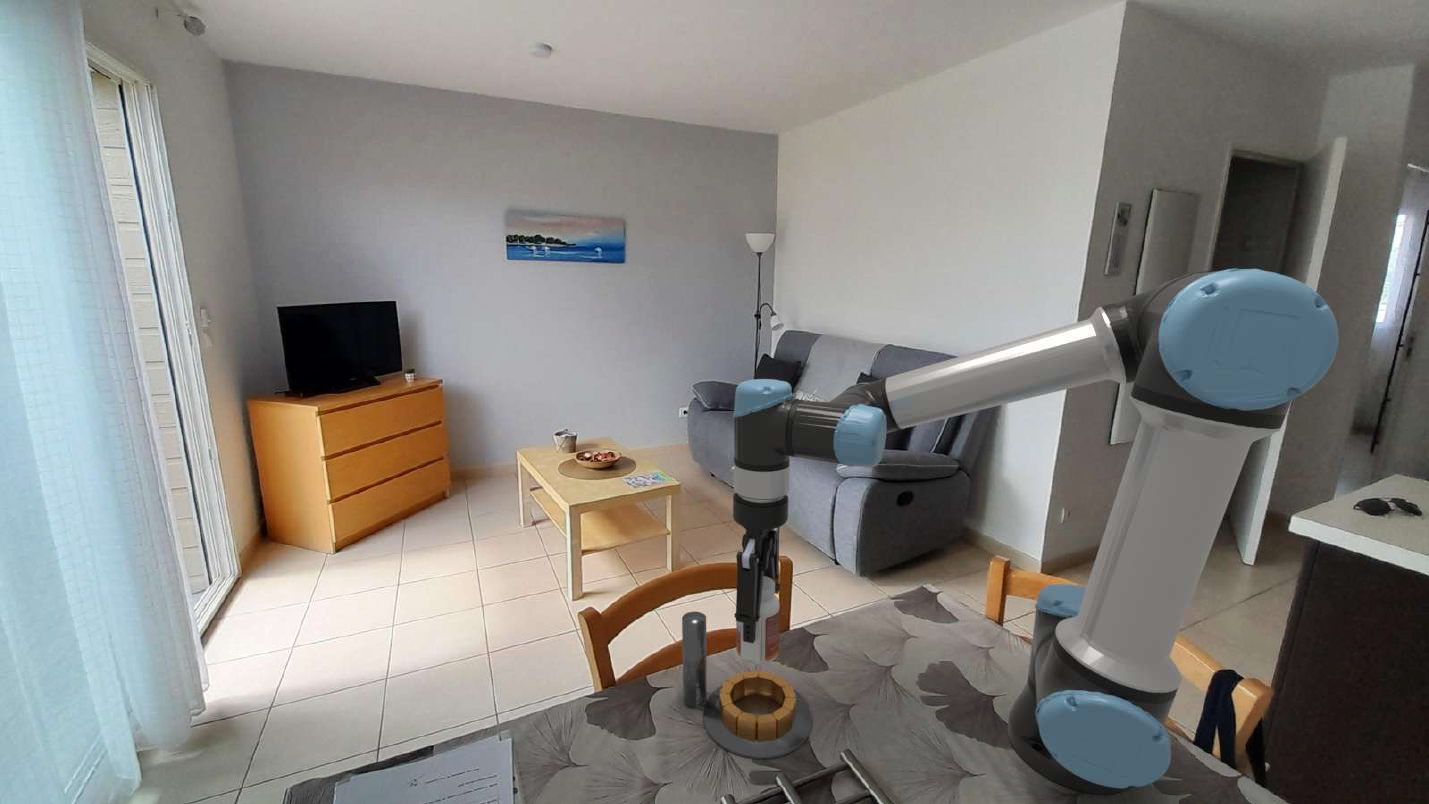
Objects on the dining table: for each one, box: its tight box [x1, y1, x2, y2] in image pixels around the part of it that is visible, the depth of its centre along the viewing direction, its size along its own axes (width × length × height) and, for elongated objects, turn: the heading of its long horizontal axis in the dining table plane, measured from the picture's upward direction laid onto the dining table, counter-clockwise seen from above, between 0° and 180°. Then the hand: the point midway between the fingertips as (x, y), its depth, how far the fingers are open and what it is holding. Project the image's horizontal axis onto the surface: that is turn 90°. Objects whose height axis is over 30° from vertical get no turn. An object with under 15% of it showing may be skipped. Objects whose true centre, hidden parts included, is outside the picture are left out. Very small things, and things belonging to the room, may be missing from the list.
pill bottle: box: [735, 576, 781, 666], centre depth 85 cm, size 6×6×11 cm
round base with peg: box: [681, 611, 813, 760], centre depth 87 cm, size 20×16×14 cm
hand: (757, 644), depth 85 cm, fingers closed on pill bottle, 6 cm apart
